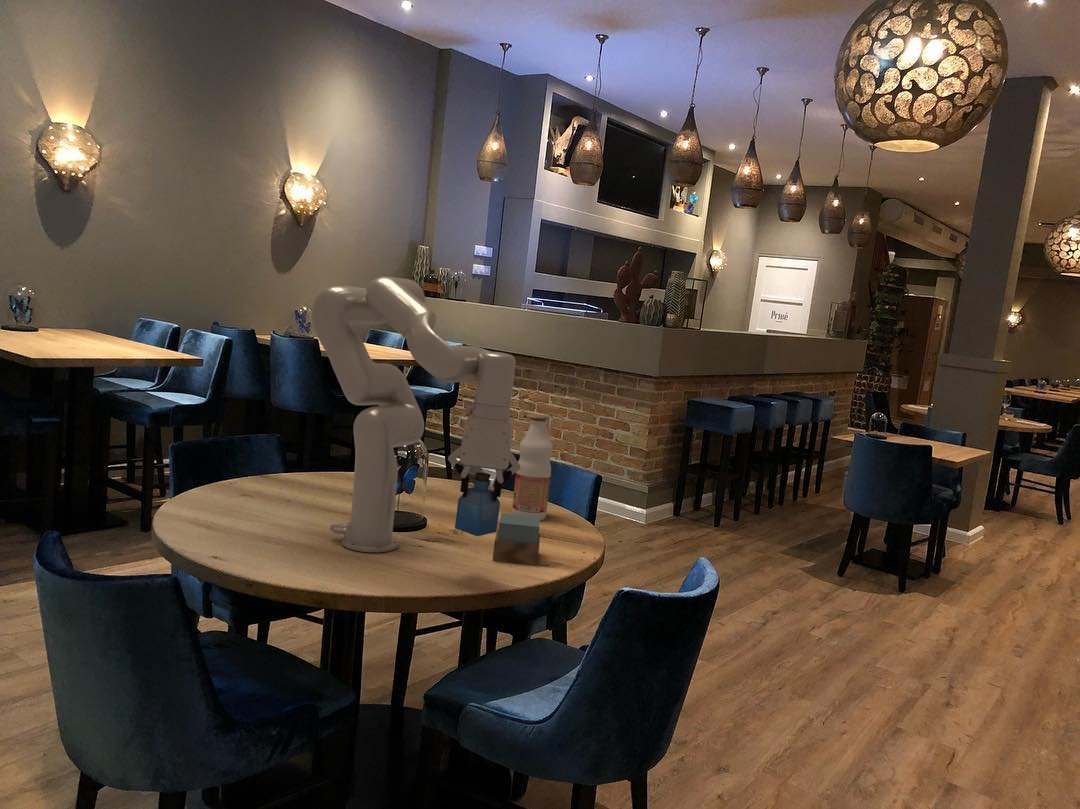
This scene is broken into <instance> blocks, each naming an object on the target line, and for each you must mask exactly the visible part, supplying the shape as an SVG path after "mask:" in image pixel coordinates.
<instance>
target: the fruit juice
mask: <svg viewBox="0 0 1080 809" xmlns="http://www.w3.org/2000/svg"><path fill="white" fill-rule="evenodd" d="M529 420H530V425H529V427H528V430H527V432H526V435H524V437H523V438H522V440H521V441H520V443H519V446H518V447H519V450H518V451H519V460H517V461H518V463H519V464H520V466H521V468H520V470H519V471H517V472H516V473H515V479H514V490H513V497H512V506H511V508H512V509H511V514H515V515H524V516H533V517H540V522H541V521H544V520H545V519H546V517H547V511H548V509H547V508H548V501H549V492H550V484H551V475H552V465H551V457H552V454H553V450H554V449H553V448H554V446H553V444H552V442H551V440H550V436H549V432H548V427H547V426H548V425H547V424H548V422H549V417H548V416H547V415H541V414H531V415H530V417H529Z"/></svg>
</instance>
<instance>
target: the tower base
mask: <svg viewBox="0 0 1080 809" xmlns="http://www.w3.org/2000/svg"><path fill="white" fill-rule="evenodd" d="M498 531H499V528H497V531H496V532H495V538H494V544H493V554H492V562H499V563H508V564H515V565H516V564H517V565H522V566H523V565H525V566H535V567H537V566H538V562H539V560H538V559H539V551H540V541H541V540H540V539H541V538H540V537H541V533H539V536H538V544H529V543H519V542H510V541H501V540H498Z"/></svg>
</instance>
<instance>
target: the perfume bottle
mask: <svg viewBox="0 0 1080 809" xmlns="http://www.w3.org/2000/svg"><path fill="white" fill-rule="evenodd" d="M474 475H475V476H474V477H475V478H473V485H474V486H473V487H468V489H467V495H466V497H463V493H462V494H461V496H460V497H459V498H458V500H457V506H456V508H457V509H456V516H455V523H454V529H455V530H458V531H461V532H464V533H467V534H470V535H471V536H475V537H482V536H485V535H489V534H494V533H497V529H498V525H499V524H498V523H499V515H500V508H501V507H500V506H501V502H500V500H499V497H497V499H496V502H494V501H493V494H494V490H492V489H490V488H489V487H490V485H491V480H490V477H491V474H490V473H488V472H482V471H479V472H478V471H477V472H475V474H474Z"/></svg>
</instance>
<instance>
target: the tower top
mask: <svg viewBox="0 0 1080 809" xmlns="http://www.w3.org/2000/svg"><path fill="white" fill-rule="evenodd" d="M498 523H499V524H498V529H499V531H498V540H501V541H510V542H519V543H529V544H538V536H539V534H540V524H541V521H540V517H533V516H524V515H515V514H512V513H505V512H501V515H500V518H499V521H498Z"/></svg>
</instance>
